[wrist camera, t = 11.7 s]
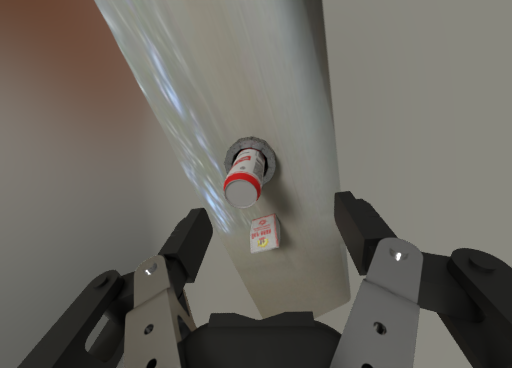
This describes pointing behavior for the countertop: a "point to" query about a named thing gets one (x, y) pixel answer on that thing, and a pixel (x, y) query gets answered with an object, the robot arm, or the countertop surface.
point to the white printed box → (265, 234)
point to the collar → (256, 144)
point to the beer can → (245, 178)
